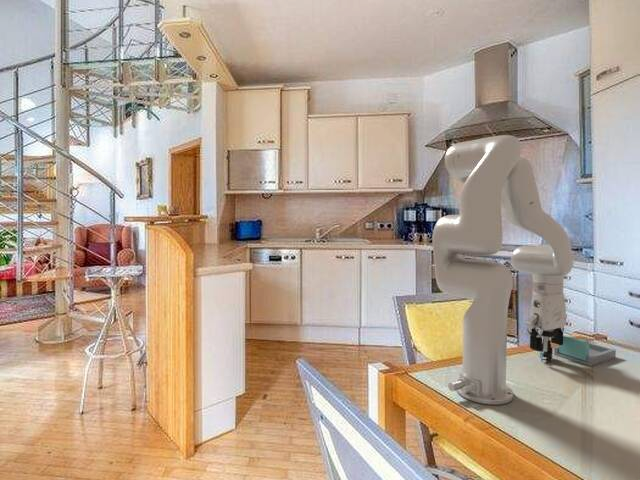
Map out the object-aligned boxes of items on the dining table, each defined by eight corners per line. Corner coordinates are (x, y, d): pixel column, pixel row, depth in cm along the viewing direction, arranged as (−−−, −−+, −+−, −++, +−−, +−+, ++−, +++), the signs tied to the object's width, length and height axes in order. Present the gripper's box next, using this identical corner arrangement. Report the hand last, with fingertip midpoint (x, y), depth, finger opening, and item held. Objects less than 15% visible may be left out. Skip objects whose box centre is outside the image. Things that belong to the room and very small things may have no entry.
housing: (590, 366, 105) (590, 358, 105) (554, 354, 114) (554, 347, 114) (615, 357, 111) (615, 349, 111) (579, 347, 120) (579, 340, 120)
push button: (554, 366, 106) (555, 331, 105) (532, 361, 109) (533, 327, 108) (558, 359, 111) (559, 325, 110) (537, 355, 114) (538, 322, 113)
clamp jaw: (585, 360, 106) (586, 342, 106) (558, 352, 113) (559, 335, 113) (588, 359, 107) (589, 341, 107) (561, 351, 114) (562, 334, 113)
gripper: (541, 294, 101) (540, 357, 103) (579, 286, 109) (577, 345, 110) (515, 289, 108) (515, 348, 109) (552, 282, 116) (551, 337, 117)
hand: (546, 346), depth 110 cm, fingers open, 9 cm apart
